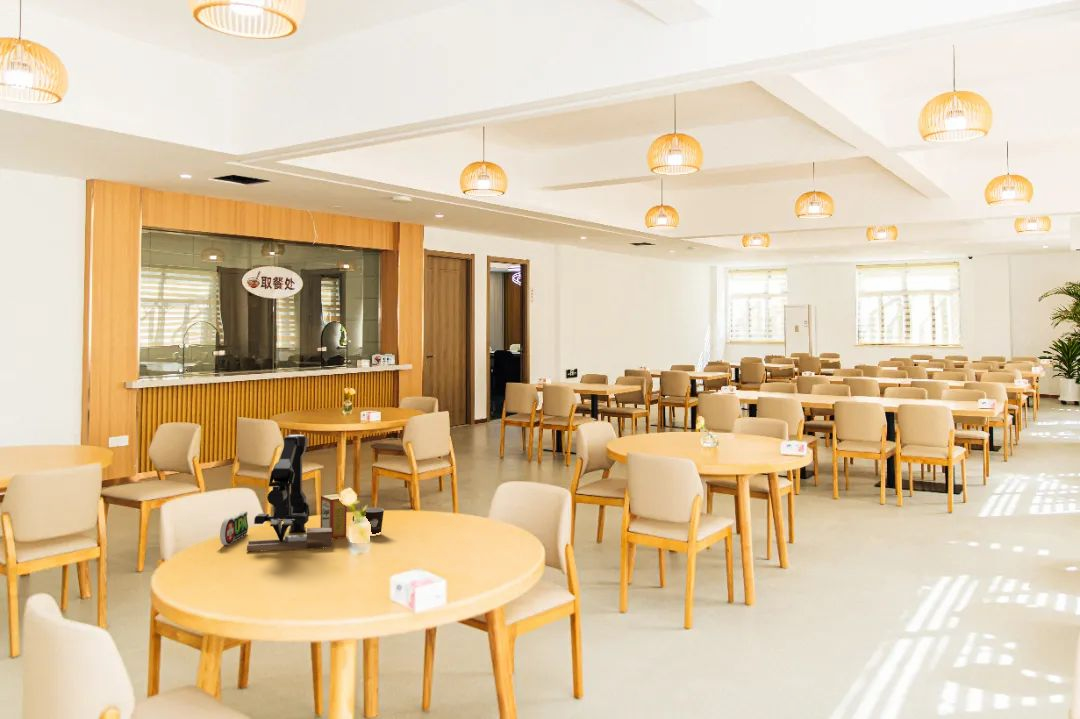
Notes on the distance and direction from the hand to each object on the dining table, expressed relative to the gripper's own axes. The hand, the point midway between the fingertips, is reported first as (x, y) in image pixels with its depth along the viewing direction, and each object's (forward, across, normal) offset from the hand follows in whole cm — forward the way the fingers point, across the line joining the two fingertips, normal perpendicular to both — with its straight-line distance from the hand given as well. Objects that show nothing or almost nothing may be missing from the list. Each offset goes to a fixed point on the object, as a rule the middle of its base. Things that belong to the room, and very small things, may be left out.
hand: (281, 541), depth 292 cm
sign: (+3, +20, -12) cm, 24 cm away
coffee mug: (+2, -30, -20) cm, 36 cm away
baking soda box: (+2, -16, -19) cm, 25 cm away
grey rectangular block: (+2, -6, -1) cm, 6 cm away
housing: (+2, -3, -1) cm, 4 cm away
